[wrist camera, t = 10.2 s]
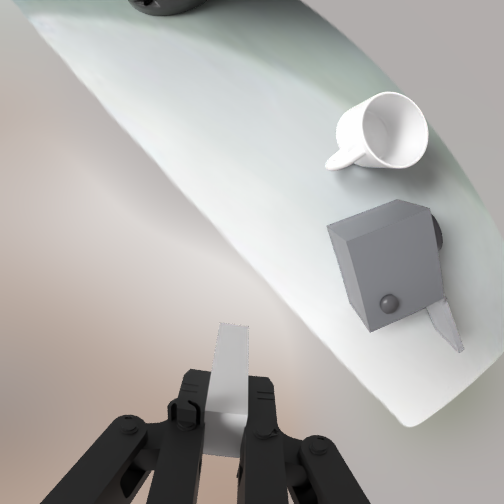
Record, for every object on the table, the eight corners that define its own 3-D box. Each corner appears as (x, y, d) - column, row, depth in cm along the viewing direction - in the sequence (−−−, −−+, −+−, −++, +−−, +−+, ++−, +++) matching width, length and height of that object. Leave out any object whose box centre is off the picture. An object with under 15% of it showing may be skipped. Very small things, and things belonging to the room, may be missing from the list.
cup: (401, 147, 38) (440, 144, 28) (335, 194, 40) (361, 203, 30) (368, 96, 36) (401, 79, 26) (299, 142, 38) (315, 134, 28)
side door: (435, 330, 45) (458, 353, 37) (412, 279, 43) (438, 300, 35) (442, 324, 45) (466, 346, 37) (420, 273, 42) (448, 292, 35)
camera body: (326, 225, 41) (348, 243, 31) (409, 194, 40) (447, 203, 30) (349, 303, 44) (372, 336, 34) (425, 270, 43) (460, 294, 33)
